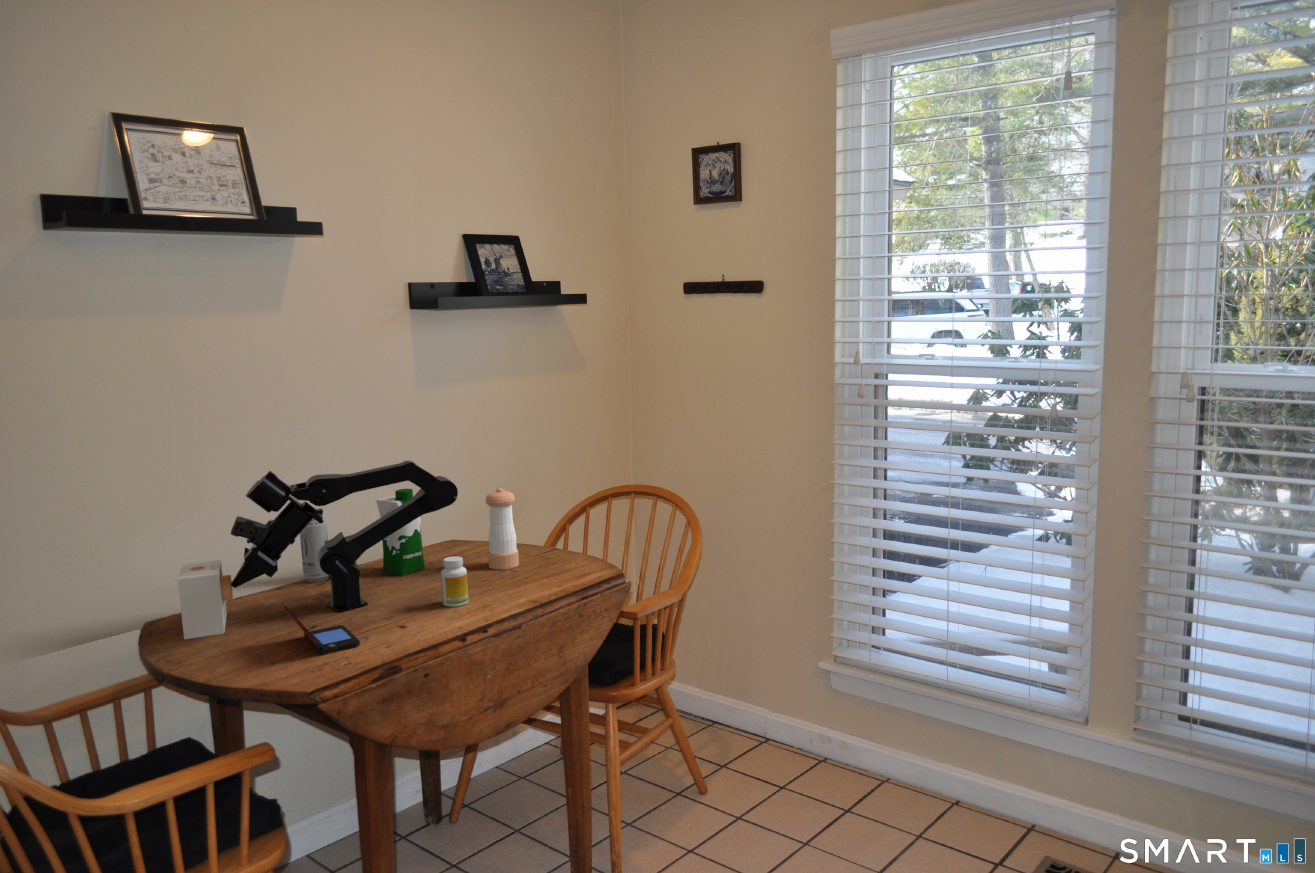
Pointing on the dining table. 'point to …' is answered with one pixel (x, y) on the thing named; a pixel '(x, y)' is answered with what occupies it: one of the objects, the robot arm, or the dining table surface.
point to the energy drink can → (313, 550)
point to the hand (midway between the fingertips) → (232, 586)
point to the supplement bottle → (454, 582)
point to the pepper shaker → (502, 531)
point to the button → (226, 587)
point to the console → (202, 599)
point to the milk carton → (401, 539)
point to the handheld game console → (328, 637)
